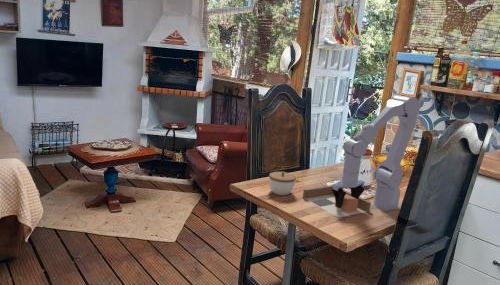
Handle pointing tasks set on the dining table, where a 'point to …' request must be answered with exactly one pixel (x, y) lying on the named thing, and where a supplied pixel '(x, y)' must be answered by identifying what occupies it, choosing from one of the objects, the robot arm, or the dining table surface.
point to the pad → (323, 202)
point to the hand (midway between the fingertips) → (345, 205)
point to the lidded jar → (281, 182)
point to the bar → (349, 204)
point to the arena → (328, 194)
